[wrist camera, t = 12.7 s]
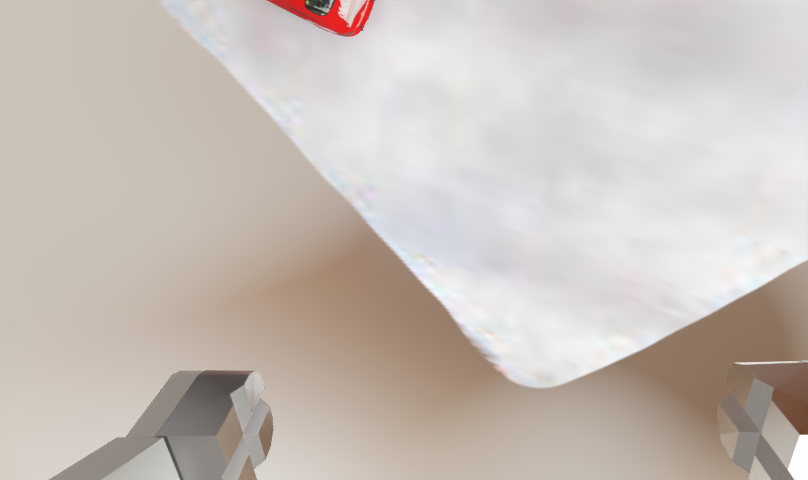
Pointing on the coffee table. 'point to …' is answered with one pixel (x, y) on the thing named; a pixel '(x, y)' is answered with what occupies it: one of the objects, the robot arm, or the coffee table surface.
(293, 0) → the race car
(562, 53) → the coffee table surface
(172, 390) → the robot arm
